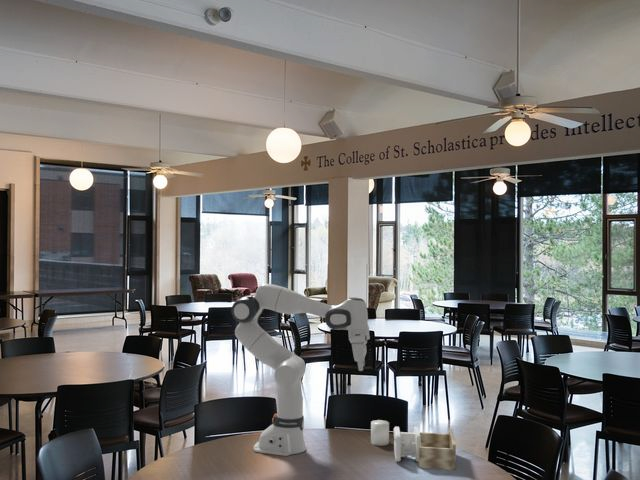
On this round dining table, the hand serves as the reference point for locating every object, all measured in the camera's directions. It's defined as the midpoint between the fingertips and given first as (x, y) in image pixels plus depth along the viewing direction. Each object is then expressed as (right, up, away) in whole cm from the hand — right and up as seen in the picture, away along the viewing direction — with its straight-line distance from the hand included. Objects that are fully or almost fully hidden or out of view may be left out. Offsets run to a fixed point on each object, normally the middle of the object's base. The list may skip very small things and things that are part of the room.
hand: (361, 368), depth 257 cm
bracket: (+30, -37, -6) cm, 48 cm away
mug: (+9, -37, +17) cm, 41 cm away
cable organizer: (+18, -37, -4) cm, 41 cm away
